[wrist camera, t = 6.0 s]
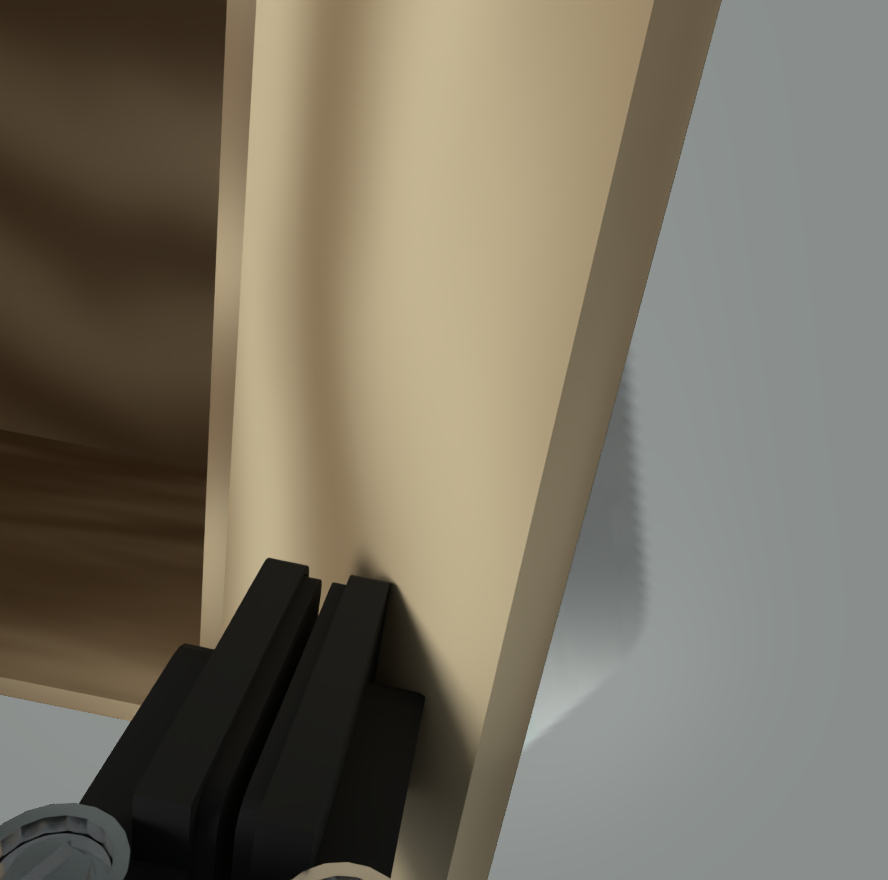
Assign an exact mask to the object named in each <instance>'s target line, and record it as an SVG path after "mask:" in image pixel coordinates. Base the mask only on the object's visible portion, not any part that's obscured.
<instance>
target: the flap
mask: <svg viewBox="0 0 888 880" xmlns="http://www.w3.org/2000/svg"><path fill="white" fill-rule="evenodd" d="M721 1H722V0H256V18H255V36H254V54H253V72H252V90H251V108H250V126H249V145H248V163H247V181H246V199H245V217H244V235H243V253H242V271H241V289H240V307H239V325H238V343H237V362H236V380H235V398H234V416H233V434H232V452H231V470H230V488H229V506H228V524H227V542H226V560H225V578H224V597H223V615H222V633H221V637H222V635H223V633H224V632H225V630H226V628H227V626H228V625H229V623H230V621H231V619H232V618H233V616H234V614H235V612H236V611H237V609H238V607H239V605H240V604H241V602H242V600H243V598H244V596H245V595H246V593H247V591H248V589H249V588H250V586H251V584H252V582H253V581H254V579H255V577H256V575H257V574H258V572H259V570H260V568H261V567H262V565H263V563H264V562H265V560H266V559H267V558H273V559H278V560H283V561H288V562H293V563H298V564H303V565H307V566H308V567H309V577H311V578H316V579H321V580H322V589H321V597H320V605H319V613H320V610H321V608H322V606H323V603H324V601H325V598H326V596H327V593H328V591H329V589H330V586H331V584H332V583H333V582H335V583H340V584H345V585H346V584H347V581H348V579H349V577H350V575H356V576H361V577H365V578H370V579H375V580H380V581H385V582H390V583H391V585H390V591H389V597H388V603H387V609H386V615H385V621H384V627H383V633H382V639H381V645H380V651H379V657H378V663H377V669H376V675H375V681H374V683H376V684H381V685H386V686H391V687H395V688H400V689H405V690H410V691H414V692H419V693H421V694H422V695H424V696H425V702H424V707H423V712H422V718H421V723H420V728H419V733H418V738H417V744H416V749H415V754H414V759H413V765H412V770H411V775H410V780H409V785H408V791H407V796H406V801H405V806H404V812H403V817H402V822H401V827H400V832H399V838H398V843H397V848H396V853H395V859H394V864H393V869H392V874H391V880H487V879H488V876H489V872H490V868H491V864H492V861H493V857H494V853H495V849H496V846H497V842H498V838H499V834H500V830H501V827H502V823H503V819H504V816H505V812H506V808H507V804H508V800H509V797H510V793H511V789H512V785H513V782H514V778H515V774H516V770H517V767H518V763H519V759H520V755H521V752H522V748H523V744H524V740H525V737H526V733H527V729H528V725H529V722H530V718H531V714H532V710H533V707H534V703H535V699H536V695H537V692H538V688H539V684H540V680H541V677H542V673H543V669H544V665H545V662H546V658H547V654H548V650H549V647H550V643H551V639H552V635H553V632H554V628H555V624H556V620H557V617H558V613H559V609H560V605H561V602H562V598H563V594H564V590H565V587H566V583H567V579H568V575H569V572H570V568H571V564H572V560H573V557H574V553H575V549H576V545H577V542H578V538H579V534H580V530H581V527H582V523H583V519H584V515H585V512H586V508H587V504H588V500H589V497H590V493H591V489H592V485H593V481H594V478H595V474H596V470H597V466H598V463H599V459H600V455H601V451H602V448H603V444H604V440H605V436H606V433H607V429H608V425H609V421H610V418H611V414H612V410H613V406H614V403H615V399H616V395H617V391H618V388H619V384H620V380H621V376H622V373H623V369H624V365H625V361H626V358H627V354H628V350H629V346H630V343H631V339H632V335H633V331H634V328H635V324H636V320H637V316H638V313H639V308H640V305H641V301H642V298H643V293H644V290H645V286H646V283H647V279H648V275H649V271H650V268H651V263H652V260H653V256H654V252H655V249H656V245H657V241H658V237H659V234H660V230H661V226H662V223H663V219H664V215H665V211H666V208H667V204H668V200H669V196H670V192H671V189H672V185H673V181H674V178H675V174H676V170H677V166H678V162H679V159H680V155H681V151H682V147H683V144H684V140H685V136H686V132H687V128H688V125H689V121H690V117H691V113H692V110H693V106H694V102H695V99H696V95H697V91H698V87H699V83H700V80H701V76H702V72H703V69H704V64H705V61H706V57H707V54H708V50H709V46H710V42H711V38H712V34H713V31H714V27H715V24H716V20H717V16H718V12H719V8H720V5H721ZM319 613H318V615H319Z"/></svg>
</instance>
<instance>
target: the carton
mask: <svg viewBox="0 0 888 880" xmlns="http://www.w3.org/2000/svg"><path fill="white" fill-rule="evenodd" d="M255 18H256V0H0V695H4V696H9V697H14V698H19V699H24V700H29V701H34V702H39V703H44V704H49V705H54V706H59V707H64V708H68V709H74V710H79V711H83V712H88V713H93V714H99V715H103V716H108V717H113V718H118V719H123V720H128V721H131V720H132V719H133V717H134V716H135V714H136V713H137V711H138V709H139V708H140V706H141V705H142V703H143V702H144V700H145V698H146V697H147V695H148V694H149V692H150V690H151V689H152V687H153V686H154V684H155V683H156V681H157V679H158V678H159V676H160V675H161V673H162V671H163V670H164V668H165V667H166V665H167V664H168V662H169V660H170V659H171V657H172V656H173V654H174V653H175V652H176V650H177V649H178V648H179V646H181V645H183V644H184V643H186V644H191V645H196V646H201V647H205V648H210V649H215V648H216V646H217V644H218V642H219V641H220V639H221V633H222V615H223V597H224V578H225V560H226V542H227V524H228V506H229V488H230V470H231V452H232V434H233V416H234V398H235V380H236V362H237V343H238V325H239V307H240V289H241V271H242V253H243V235H244V217H245V199H246V181H247V163H248V145H249V126H250V108H251V90H252V72H253V54H254V36H255Z"/></svg>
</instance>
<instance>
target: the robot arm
mask: <svg viewBox="0 0 888 880" xmlns="http://www.w3.org/2000/svg"><path fill="white" fill-rule="evenodd" d="M390 585H391V583H390V582H385V581H380V580H375V579H370V578H365V577H361V576H356V575H350V577H349V579H348V581H347V584H346V585H345V584H340V583H335V582H333V583H332V584H331V586H330V589H329V591H328V593H327V596H326V598H325V601H324V603H323V606H322V608H321V610H320V613H319V605H320V597H321V589H322V580H321V579H316V578H311V577H309V567H308V566H307V565H303V564H298V563H293V562H288V561H283V560H278V559H273V558H267V559H266V560H265V562H264V563H263V565H262V567H261V568H260V570H259V572H258V574H257V575H256V577H255V579H254V581H253V582H252V584H251V586H250V588H249V589H248V591H247V593H246V595H245V596H244V598H243V600H242V602H241V604H240V605H239V607H238V609H237V611H236V612H235V614H234V616H233V618H232V619H231V621H230V623H229V625H228V626H227V628H226V630H225V632H224V633H223V635H222V637H221V639H220V641H219V642H218V644H217V646H216V648H215V649H210V648H205V647H201V646H196V645H191V644H186V643H184V644H183V645H181V646H179V648H178V649H177V650H176V652H175V653H174V654H173V656H172V657H171V659H170V660H169V662H168V664H167V665H166V667H165V668H164V670H163V671H162V673H161V675H160V676H159V678H158V679H157V681H156V683H155V684H154V686H153V687H152V689H151V690H150V692H149V694H148V695H147V697H146V698H145V700H144V702H143V703H142V705H141V706H140V708H139V709H138V711H137V713H136V714H135V716H134V717H133V719H132V720H131V722H130V724H129V725H128V727H127V728H126V730H125V732H124V733H123V735H122V737H121V738H120V739H119V741H118V743H117V744H116V746H115V747H114V749H113V751H112V752H111V754H110V755H109V757H108V758H107V760H106V762H105V763H104V765H103V766H102V768H101V770H100V771H99V773H98V774H97V776H96V777H95V779H94V781H93V783H92V784H91V786H90V787H89V788H88V790H87V792H86V793H85V795H84V796H83V798H82V800H81V802H80V803H79V804H77V803H67V804H50V805H46V806H43V807H39V808H36V809H32V810H29V811H26V812H24V813H22V814H20V815H18V816H16V817H14V818H12V819H10V820H9V821H7V822H5V823H3V824H2V825H0V880H391V874H392V869H393V864H394V859H395V853H396V848H397V843H398V838H399V832H400V827H401V822H402V817H403V812H404V806H405V801H406V796H407V791H408V785H409V780H410V775H411V770H412V765H413V759H414V754H415V749H416V744H417V738H418V733H419V728H420V723H421V718H422V712H423V707H424V702H425V696H424V695H422V694H421V693H419V692H414V691H410V690H405V689H400V688H395V687H391V686H386V685H381V684H376V683H374V681H375V675H376V669H377V663H378V657H379V651H380V645H381V639H382V633H383V627H384V621H385V615H386V609H387V603H388V597H389V591H390ZM318 613H319V615H318Z"/></svg>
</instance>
